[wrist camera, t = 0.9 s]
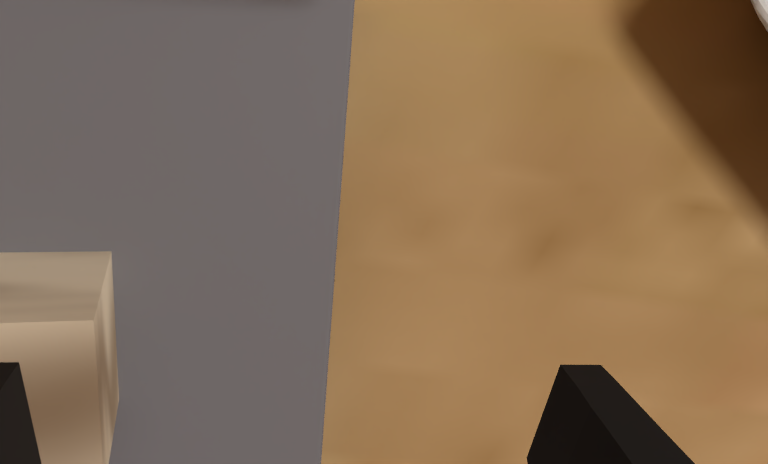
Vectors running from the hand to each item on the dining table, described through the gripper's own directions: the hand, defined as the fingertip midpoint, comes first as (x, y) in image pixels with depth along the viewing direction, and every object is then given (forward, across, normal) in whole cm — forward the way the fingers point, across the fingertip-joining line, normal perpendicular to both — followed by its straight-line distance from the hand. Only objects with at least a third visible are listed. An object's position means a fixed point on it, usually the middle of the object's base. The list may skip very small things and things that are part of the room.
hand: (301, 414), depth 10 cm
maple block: (+10, +7, +8) cm, 14 cm away
